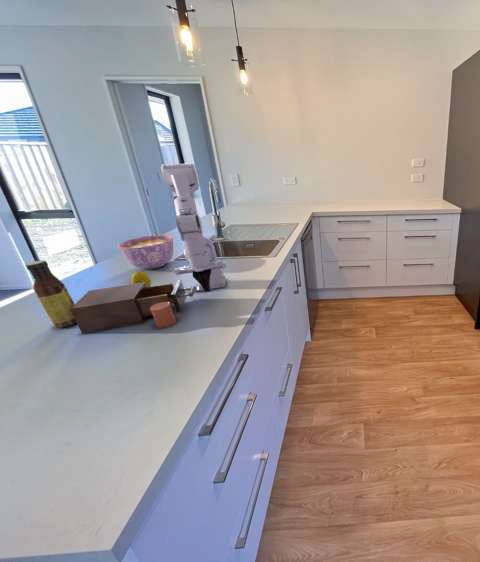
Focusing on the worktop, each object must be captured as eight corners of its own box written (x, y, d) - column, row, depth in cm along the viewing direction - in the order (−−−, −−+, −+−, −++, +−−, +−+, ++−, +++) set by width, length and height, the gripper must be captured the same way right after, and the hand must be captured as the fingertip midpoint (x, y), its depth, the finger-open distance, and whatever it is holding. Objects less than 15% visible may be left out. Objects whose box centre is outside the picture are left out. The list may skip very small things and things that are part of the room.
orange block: (177, 317, 93) (171, 300, 91) (174, 325, 89) (168, 307, 87) (158, 321, 92) (152, 303, 89) (154, 329, 87) (147, 311, 85)
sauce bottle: (87, 319, 93) (58, 259, 85) (62, 330, 88) (29, 267, 80) (73, 316, 95) (44, 257, 87) (49, 326, 90) (14, 265, 82)
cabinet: (153, 304, 102) (145, 282, 98) (143, 322, 91) (133, 298, 88) (99, 313, 97) (89, 290, 93) (82, 334, 86) (69, 309, 83)
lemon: (144, 294, 108) (136, 274, 105) (132, 293, 109) (124, 273, 106) (157, 288, 113) (150, 268, 110) (145, 287, 114) (138, 268, 111)
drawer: (199, 294, 106) (194, 277, 103) (195, 309, 96) (190, 291, 93) (140, 304, 100) (133, 287, 97) (129, 321, 90) (121, 302, 87)
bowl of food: (161, 274, 126) (152, 247, 122) (115, 274, 127) (104, 248, 122) (189, 257, 145) (182, 234, 140) (148, 258, 145) (140, 235, 140)
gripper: (168, 259, 89) (181, 300, 95) (221, 252, 94) (230, 291, 100) (172, 252, 95) (184, 291, 101) (222, 246, 100) (231, 283, 106)
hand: (207, 290), depth 101 cm, fingers closed
